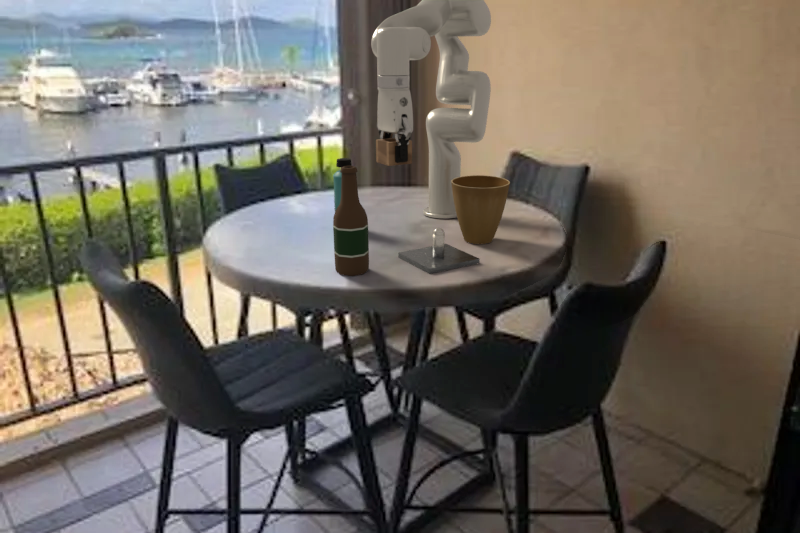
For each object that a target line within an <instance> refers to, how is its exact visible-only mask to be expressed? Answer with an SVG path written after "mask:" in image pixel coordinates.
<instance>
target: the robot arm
mask: <svg viewBox="0 0 800 533" xmlns="http://www.w3.org/2000/svg"><path fill="white" fill-rule="evenodd" d="M491 24H492V15H491V11H490V7H489V6H488V4H487V3H486V1H485V0H421V1H419V3H418V4H416V5H414V6H413V7H410V8H407V9H405V10H403V11H400V12H398V13H396V14H393V15H391V16H388V17H387V18H385V19H384V20H383V21H382V22H381V23H380V24H379V25H378V26H377V27H376V29H375V30H374V32H373V34H372V37H371V42H370V43H371V44H370V45H371V50H372V53H373V55H374V57H376V64H377V65H376V67H377V69H376V70H377V72H376V73H377V74H376V75H377V80H376V81H377V82H376V83H377V91H378V94H377V112H376V114H377V116H376V117H377V119H376V120H377V122H376V128H377V130H378V135H379V139H388V138H393V135H394V138H395V139H396V143H397V146H395V162H397V163H400V162H407V161H408V145H409V140H411V136H412V134H413V131H414V114H413V113H414V112H413V102H412V101H413V100H412V94H411V90H410V61H420V60H423V59H424V58H425V57H427V56H428V55H429V53H430V50H431V47H432V46H431V45H432V41H431V40H432V39H431V37H435V40H436V43H437V46H438V50H439V64H438V70H437V78H436V85H435V96H436V98H435V99H437V101H438V102H439V103H441V104H445V105H455V106H457V105H458V106H470V108H461V107H460V108H458V107H438V108H434V109H432V110H430V111H429V113H427V116H426V118H425V129H426V134H427V135H426V136H427V144H428V206H427V207H424V208H423V211H422V213H423V215H424V216H426V217H429V218H433V219H442V220H443V219H458V218H457V214H456V210H455V205H454V199H453V192H452V184H451V181H452V180H453V179H454V178H457V177H461V172H462V171H461V170H462V169H461V166H462V163H461V162H462V161H461V160H462V157H461V152H460V151H459V148H458V146H457V145H456V144H455V143H471V144H472V143H473V144H475V143H479V142H480V141H482V140H483V139H484V138H485V137H484V136H485V133H486V128H487V122H488V114H489V108H490V98H491V90H492V88H491V86H492V85H491V80H490V77H489V76H488V74H487V73H485V72H484V71H479V70H469V62H470V54H469V52H468V49H467V48H466V46H465V45H464V43H463V42H462V41H461V39H459V37H482V36H484V35H486V34H487V33H488V32H489V30H490V28H491ZM400 136H401V137H400Z"/></svg>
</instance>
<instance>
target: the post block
mask: <svg viewBox="0 0 800 533" xmlns="http://www.w3.org/2000/svg"><path fill="white" fill-rule="evenodd" d="M445 237H446V236H445V230H444V229H442V227H436V228H434V229H433V231H432V246H426V247H422V248H421V247H420V248H415V249H411V250H406V251H405V250H404V251H399V252H398V254H397V256H398V258H399V259H401V260H402V261H405V262H407V263H408V262H409V264H410V265H412V266H414V265H415V266H414V267H416V268H418V269H419V268H420V270H421V269H422V271H423V272H425V273H427V274H429V275H431V273H432V274H435V273H441V272H445V271H444V270H446V271H449V269H451V270H454V268H455V269H460V268H464V267H463V266H465V267H468V266H467V265H470V266H474V265H478V264H477V263H479V264H480V259H481V258H479V257H477V256H474V255H473V254H470V253H468V252H466V251H463V250H461V249H459V248H457V247H455V246H453V245H450V244H448V243H445ZM473 264H474V265H473ZM459 267H460V268H459ZM440 271H441V272H440Z"/></svg>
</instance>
